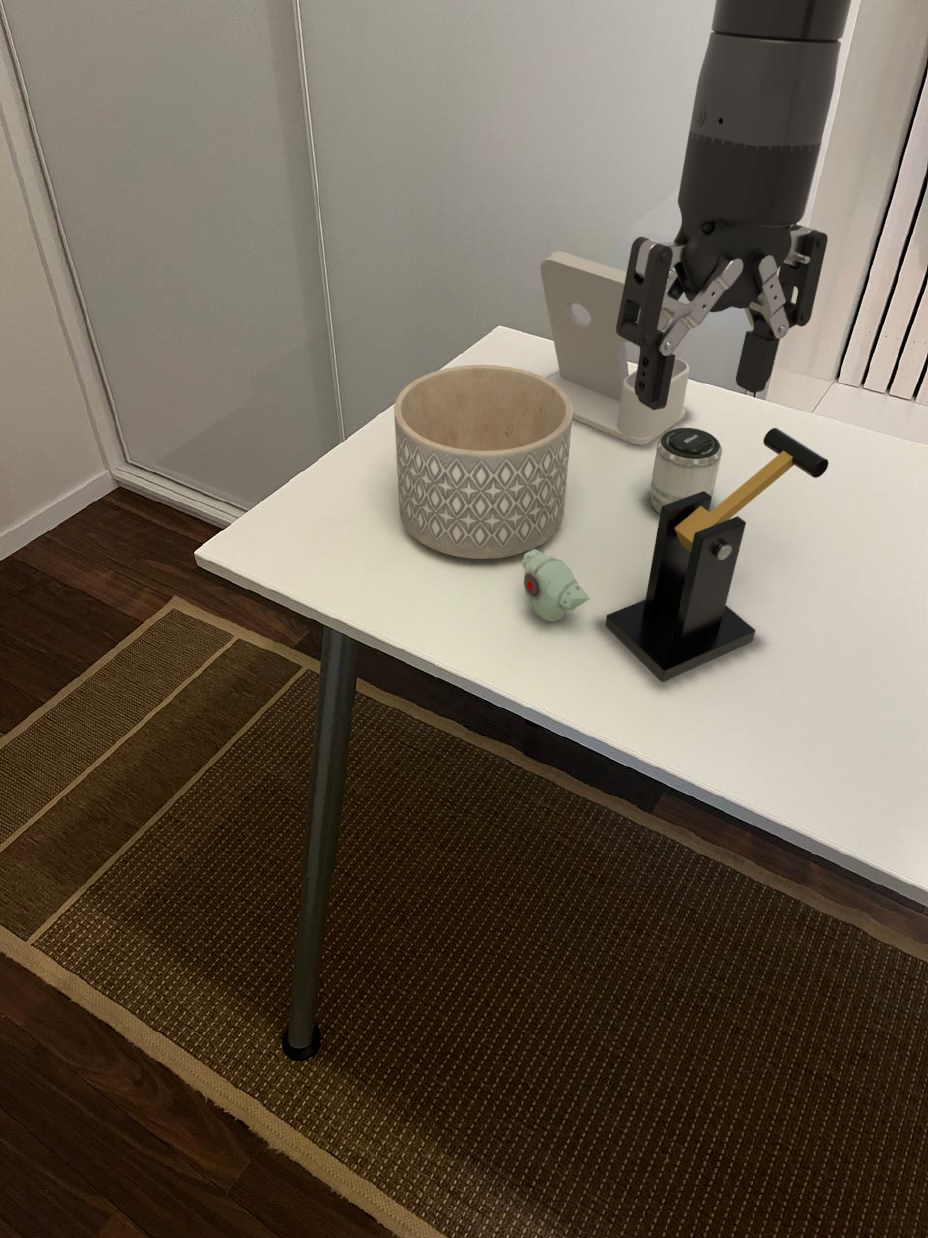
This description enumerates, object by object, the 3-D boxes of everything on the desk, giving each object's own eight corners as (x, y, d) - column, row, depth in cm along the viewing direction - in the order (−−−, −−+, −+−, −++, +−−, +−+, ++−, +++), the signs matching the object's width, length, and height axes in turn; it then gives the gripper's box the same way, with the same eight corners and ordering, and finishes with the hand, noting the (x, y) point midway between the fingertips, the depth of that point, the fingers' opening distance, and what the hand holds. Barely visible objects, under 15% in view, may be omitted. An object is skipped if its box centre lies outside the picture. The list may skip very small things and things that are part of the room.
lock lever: (780, 439, 78) (776, 420, 76) (830, 471, 74) (827, 452, 72) (667, 534, 78) (660, 517, 76) (712, 570, 74) (706, 553, 72)
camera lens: (721, 505, 97) (736, 438, 91) (686, 530, 93) (699, 463, 88) (671, 480, 100) (683, 415, 95) (635, 504, 97) (645, 438, 91)
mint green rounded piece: (591, 636, 82) (599, 576, 77) (553, 654, 80) (559, 593, 76) (537, 586, 87) (542, 527, 82) (501, 602, 85) (503, 542, 81)
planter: (496, 457, 103) (499, 349, 95) (596, 529, 94) (610, 416, 85) (369, 507, 96) (360, 395, 88) (462, 592, 86) (463, 475, 78)
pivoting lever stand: (692, 589, 87) (718, 472, 78) (753, 641, 82) (787, 521, 73) (604, 625, 83) (621, 506, 74) (662, 682, 78) (686, 561, 69)
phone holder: (691, 414, 110) (720, 262, 98) (644, 449, 105) (667, 291, 92) (572, 368, 119) (584, 222, 107) (522, 398, 113) (529, 247, 101)
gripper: (702, 142, 48) (651, 434, 58) (893, 136, 54) (818, 402, 64) (617, 120, 54) (583, 391, 63) (799, 117, 60) (743, 365, 69)
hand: (701, 396), depth 63 cm, fingers open, 8 cm apart
